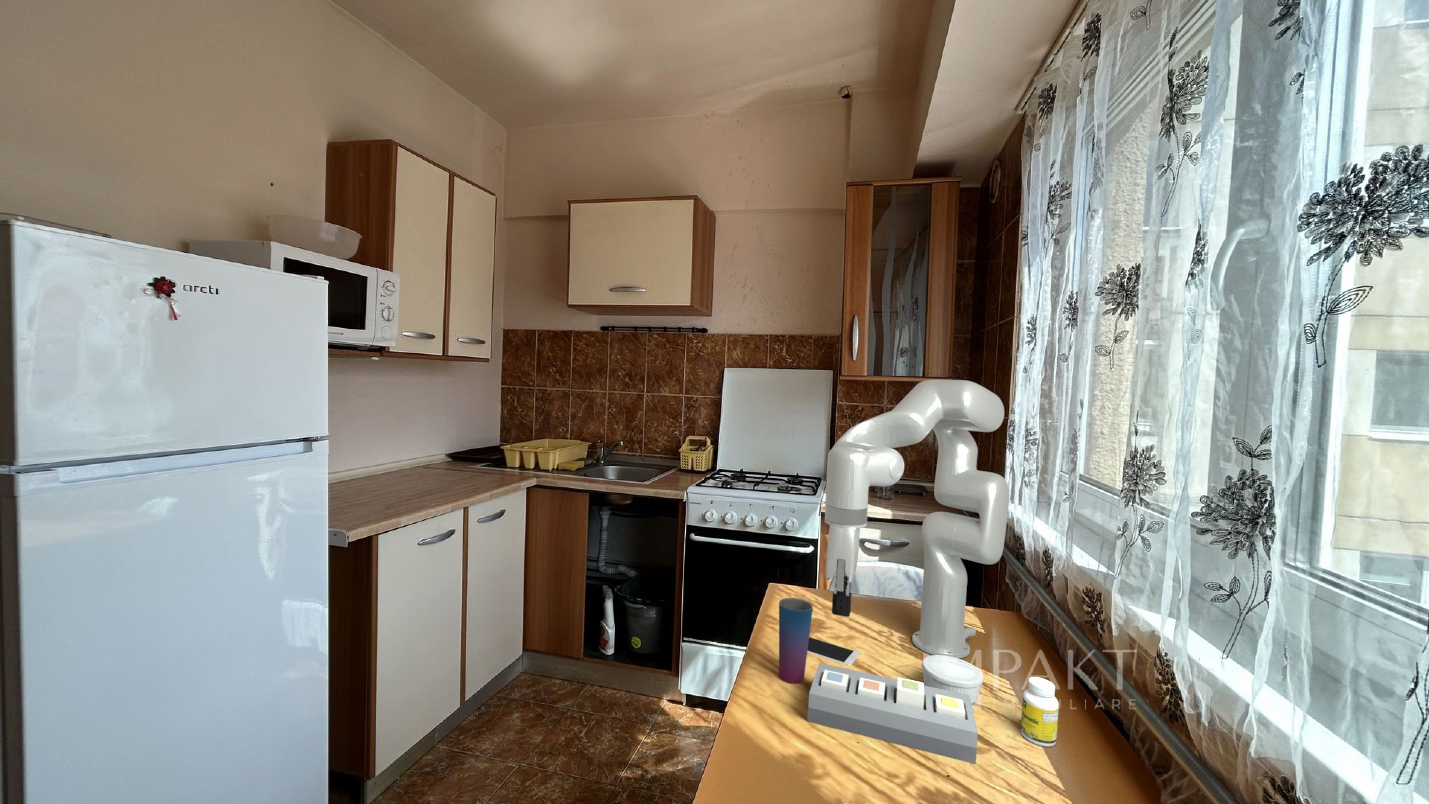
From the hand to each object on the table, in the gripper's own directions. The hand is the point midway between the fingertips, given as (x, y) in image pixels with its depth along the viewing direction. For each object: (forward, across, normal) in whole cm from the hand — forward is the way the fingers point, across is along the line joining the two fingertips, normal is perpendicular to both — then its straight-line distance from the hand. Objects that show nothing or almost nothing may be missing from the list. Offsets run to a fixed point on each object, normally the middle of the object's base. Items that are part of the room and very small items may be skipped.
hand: (841, 613), depth 102 cm
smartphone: (+19, -22, -6) cm, 30 cm away
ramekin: (+18, -15, +20) cm, 31 cm away
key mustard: (+15, +1, +19) cm, 24 cm away
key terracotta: (+15, +1, +6) cm, 16 cm away
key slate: (+15, +1, 0) cm, 15 cm away
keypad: (+18, +1, +9) cm, 20 cm away
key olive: (+13, +1, +13) cm, 18 cm away
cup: (+18, -7, -10) cm, 21 cm away
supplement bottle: (+18, -5, +34) cm, 39 cm away
